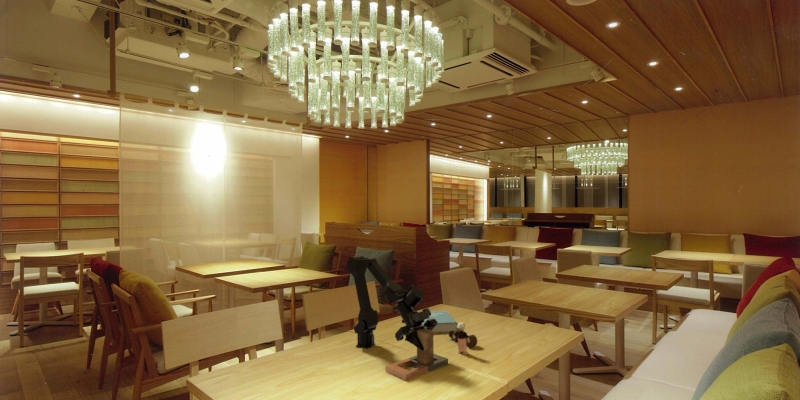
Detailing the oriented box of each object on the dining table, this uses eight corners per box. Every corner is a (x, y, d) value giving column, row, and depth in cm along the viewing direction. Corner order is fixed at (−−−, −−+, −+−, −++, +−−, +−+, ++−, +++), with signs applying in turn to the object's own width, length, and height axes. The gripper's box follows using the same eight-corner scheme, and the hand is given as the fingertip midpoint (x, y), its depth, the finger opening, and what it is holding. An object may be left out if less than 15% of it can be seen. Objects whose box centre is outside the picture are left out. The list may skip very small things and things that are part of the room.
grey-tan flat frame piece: (405, 380, 143) (405, 375, 143) (385, 371, 152) (385, 366, 152) (448, 364, 158) (448, 358, 158) (428, 356, 166) (428, 351, 166)
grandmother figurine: (472, 352, 170) (471, 322, 170) (469, 355, 166) (469, 324, 166) (454, 350, 173) (453, 320, 173) (451, 353, 169) (450, 322, 169)
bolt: (452, 342, 189) (474, 350, 176) (444, 338, 187) (466, 346, 174) (456, 329, 191) (479, 337, 178) (449, 326, 189) (471, 333, 176)
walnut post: (425, 368, 154) (424, 333, 154) (417, 364, 158) (416, 330, 158) (433, 364, 157) (433, 330, 157) (425, 361, 161) (425, 328, 161)
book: (417, 321, 219) (417, 311, 219) (447, 319, 221) (447, 310, 221) (425, 334, 197) (425, 323, 197) (458, 332, 198) (457, 322, 198)
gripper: (399, 306, 155) (420, 342, 146) (434, 298, 167) (455, 331, 158) (386, 323, 161) (405, 359, 152) (421, 314, 173) (440, 347, 164)
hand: (427, 348), depth 157 cm, fingers closed on walnut post, 4 cm apart
